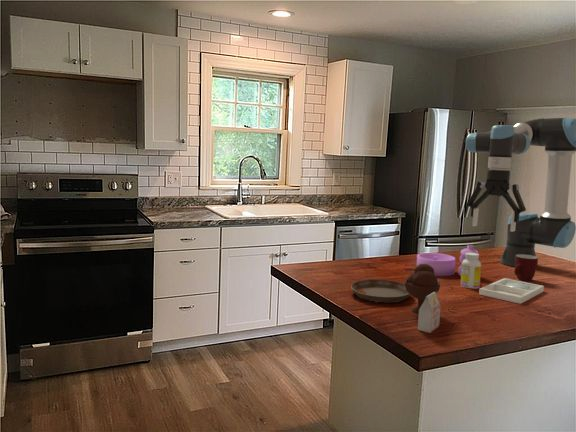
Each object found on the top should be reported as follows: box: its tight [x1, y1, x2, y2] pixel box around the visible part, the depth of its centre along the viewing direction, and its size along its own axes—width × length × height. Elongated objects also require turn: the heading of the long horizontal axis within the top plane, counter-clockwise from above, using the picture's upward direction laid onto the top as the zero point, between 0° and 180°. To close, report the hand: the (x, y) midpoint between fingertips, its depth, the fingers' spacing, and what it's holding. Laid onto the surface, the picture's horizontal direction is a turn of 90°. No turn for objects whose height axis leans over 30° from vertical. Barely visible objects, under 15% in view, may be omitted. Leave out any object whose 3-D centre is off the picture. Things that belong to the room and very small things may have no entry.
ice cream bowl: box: [404, 264, 441, 315], centre depth 155 cm, size 11×11×15 cm
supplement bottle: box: [460, 253, 482, 289], centre depth 185 cm, size 7×7×13 cm
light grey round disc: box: [506, 283, 530, 291], centre depth 181 cm, size 8×8×2 cm
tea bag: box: [417, 292, 441, 334], centre depth 142 cm, size 4×7×10 cm, turn 143°
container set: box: [416, 244, 480, 277], centre depth 205 cm, size 25×15×13 cm, turn 50°
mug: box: [514, 254, 539, 282], centre depth 196 cm, size 10×8×10 cm
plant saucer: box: [350, 278, 411, 304], centre depth 172 cm, size 21×21×3 cm
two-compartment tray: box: [478, 277, 545, 305], centre depth 178 cm, size 22×14×3 cm, turn 135°
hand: (493, 228), depth 181 cm, fingers open, 13 cm apart
